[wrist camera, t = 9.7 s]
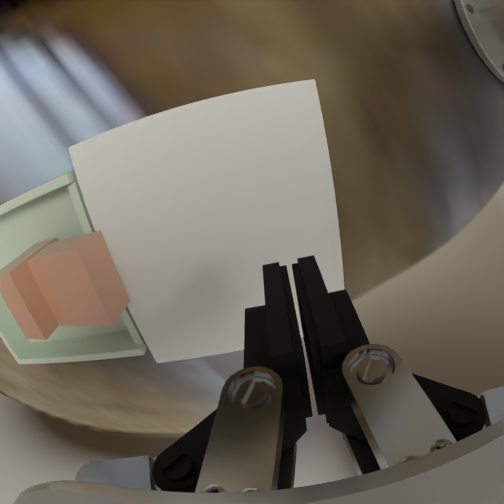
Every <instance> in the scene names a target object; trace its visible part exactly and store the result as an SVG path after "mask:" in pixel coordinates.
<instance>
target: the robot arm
mask: <svg viewBox="0 0 504 504" xmlns="http://www.w3.org/2000/svg"><path fill="white" fill-rule="evenodd" d="M454 2H455V5H456V9H457V12H458V15H459V17H460V20H461V22H462V25H463V27H464V29H465V31H466V33H467V35H468V37H469V39H470V41H471V43H472V44H473V46H474V48H475V50H476V51H477V53H478V54H479V56H480V57H481V59H482V60H483V61H484V63H485V64H486V65H487V67H488V68H489V69H490V70H491V71H492V72H493V74H494V75H495V76H497V77H498V78H499V79H500V80H501V81H502V82H503V83H504V0H454ZM297 262H298V263H294V264H292V270H293V276H294V282H295V288H296V295H297V301H298V307H299V313H300V320H301V326H302V332H303V338H304V342H305V347H306V352H307V358H308V362H309V368H310V373H311V378H312V384H313V389H314V394H315V400H316V405H317V411H318V415H322V414H325V416H326V421H327V423H329V425H330V427H332V428H334V429H336V430H338V431H340V432H342V437H343V440H344V442H345V444H346V447H347V449H348V451H349V454H350V456H351V459H352V461H353V464H354V466H355V468H356V471H357V473H358V476H355V477H351V478H347V479H342V480H338V481H333V482H327V483H322V484H317V485H311V486H305V487H298V488H294V477H295V464H296V452H297V440H298V439H299V438H300V437H301V436H302V435H303V434H304V433H305V432H306V431H307V429H306V419H305V418H307V417H312V408H311V401H310V393H309V386H308V379H307V373H306V365H305V358H304V352H303V346H302V341H301V335H300V330H299V325H298V320H297V315H296V310H295V305H294V300H293V295H292V290H291V285H290V281H289V276H288V271H287V266H286V265H284V266H280V265H279V262H276V263H270V264H265V265H262V268H263V282H264V296H265V305H262V306H256V307H251V308H246V309H245V323H244V369H242V370H240V371H238V372H236V373H235V374H233V375H232V376H230V378H229V379H228V380H227V381H226V382H225V384H224V387H223V389H222V392H221V396H220V400H219V404H218V408H217V409H216V410H215V411H214V412H212V413H211V414H210V415H209V416H208V417H206V418H205V419H204V420H203V421H201V422H200V423H199V424H198V425H196V426H195V427H194V428H193V429H191V430H190V431H189V432H188V433H186V434H185V435H184V436H183V437H181V438H180V439H179V440H178V441H176V442H175V443H173V444H172V445H171V446H170V447H168V448H167V449H165V450H164V451H163V452H162V453H161V454H160V455H159V456H158V457H154V458H151V457H150V456H149V455H147V456H140V457H133V458H126V459H116V460H106V461H94V462H89V463H86V464H85V465H83V466H82V467H81V468H80V469H79V471H78V472H77V474H76V478H75V481H73V480H72V481H71V480H62V481H52V482H46V483H41V484H38V485H34V486H31V487H29V488H27V489H26V490H24V491H23V492H21V493H20V495H19V496H18V497H17V499H16V500H15V502H14V504H504V387H500V388H496V389H492V390H488V391H483V392H482V394H481V395H480V396H475V395H473V394H471V393H469V392H466V391H463V390H460V389H456V388H454V387H451V386H448V385H444V384H442V383H439V382H436V381H433V380H430V379H427V378H424V377H421V376H418V375H415V374H412V373H411V372H410V371H409V369H408V368H407V366H406V365H405V364H404V362H403V361H402V359H401V358H400V357H399V356H398V354H397V353H396V352H395V351H394V350H393V349H391V348H389V347H387V346H384V345H379V344H370V343H369V341H368V338H367V336H366V334H365V331H364V329H363V327H362V325H361V322H360V320H359V318H358V315H357V313H356V311H355V308H354V306H353V304H352V302H351V300H350V297H349V295H348V293H347V291H346V290H345V289H344V290H339V291H335V292H330V293H328V291H327V288H326V285H325V283H324V280H323V277H322V275H321V272H320V270H319V267H318V264H317V262H316V259H315V257H314V255H312V256H307V257H302V258H297Z"/></svg>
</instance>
